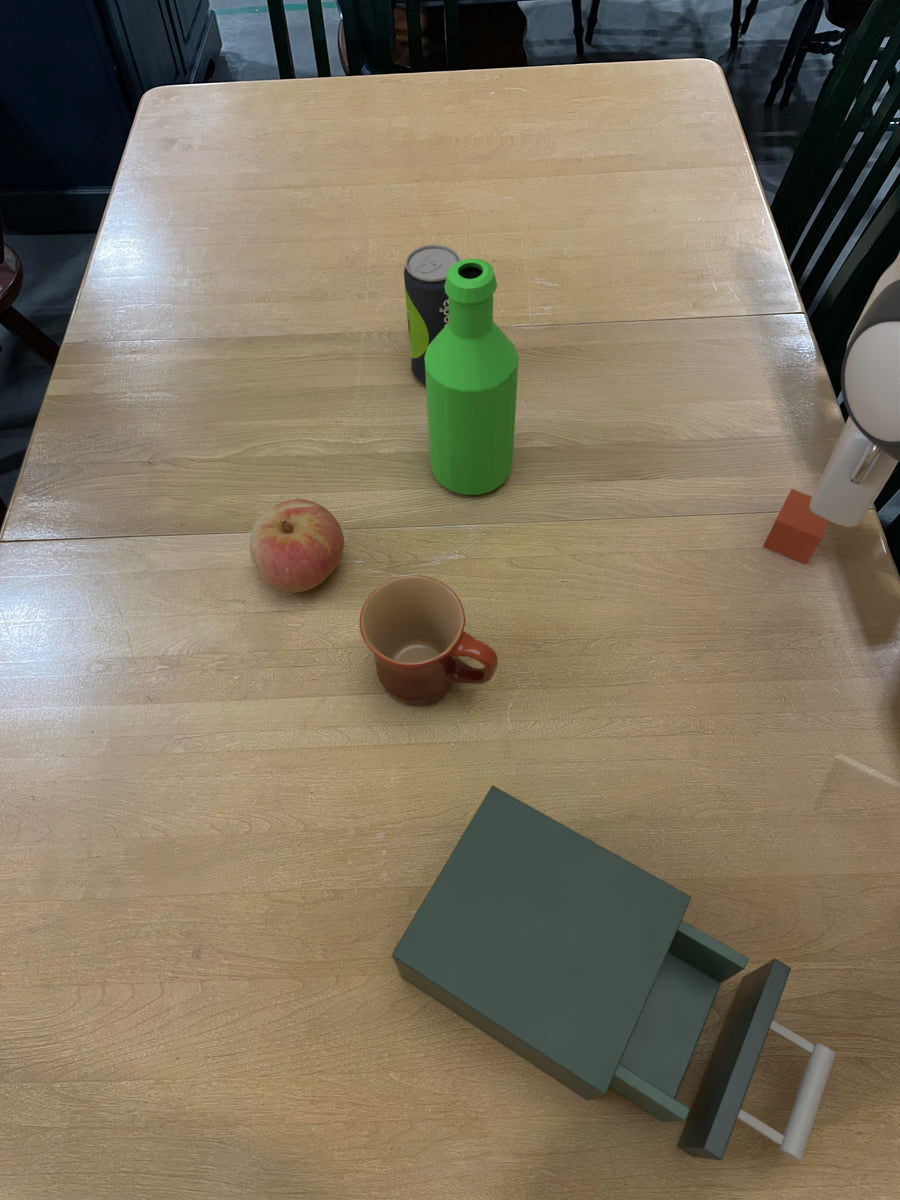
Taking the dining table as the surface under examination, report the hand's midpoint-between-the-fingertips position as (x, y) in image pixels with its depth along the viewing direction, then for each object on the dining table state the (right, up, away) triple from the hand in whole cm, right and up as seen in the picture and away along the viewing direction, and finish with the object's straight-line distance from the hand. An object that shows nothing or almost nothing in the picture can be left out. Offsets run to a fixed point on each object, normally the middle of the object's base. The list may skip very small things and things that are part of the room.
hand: (843, 474), depth 69 cm
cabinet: (-26, -38, -3) cm, 46 cm away
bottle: (-30, +4, +23) cm, 38 cm away
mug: (-34, -18, +10) cm, 39 cm away
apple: (-47, -7, +17) cm, 50 cm away
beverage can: (-34, +17, +31) cm, 49 cm away
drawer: (-16, -42, -7) cm, 45 cm away
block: (+3, -4, +17) cm, 18 cm away
